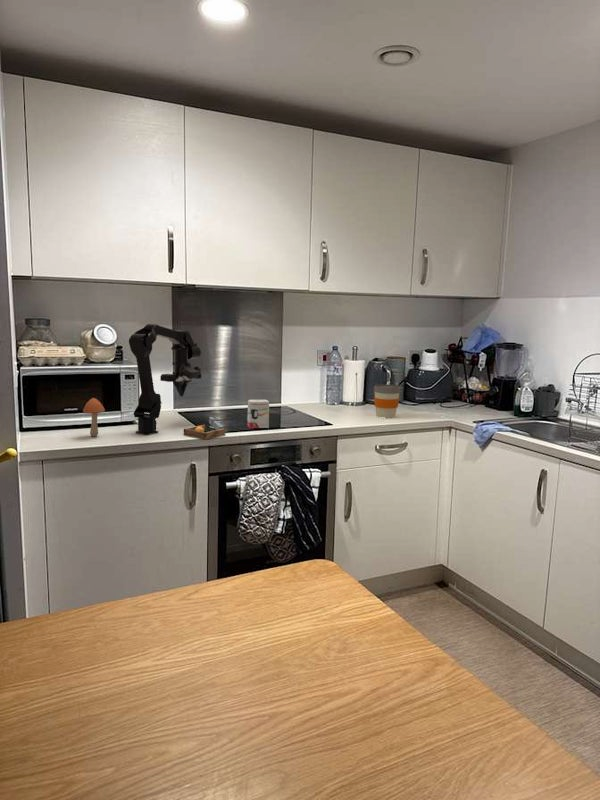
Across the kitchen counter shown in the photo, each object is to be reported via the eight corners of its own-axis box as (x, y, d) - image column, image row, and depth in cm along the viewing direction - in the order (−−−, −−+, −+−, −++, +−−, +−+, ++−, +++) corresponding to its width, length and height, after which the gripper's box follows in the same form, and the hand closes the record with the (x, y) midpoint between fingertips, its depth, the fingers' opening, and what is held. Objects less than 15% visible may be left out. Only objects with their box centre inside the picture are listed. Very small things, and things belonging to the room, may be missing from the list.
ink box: (249, 429, 240) (249, 401, 238) (247, 426, 245) (247, 399, 243) (269, 428, 243) (269, 401, 241) (266, 426, 247) (267, 399, 245)
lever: (217, 433, 229) (217, 425, 229) (207, 423, 249) (207, 416, 248) (224, 432, 230) (224, 425, 230) (214, 422, 249) (214, 415, 249)
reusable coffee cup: (367, 415, 280) (369, 384, 278) (389, 413, 286) (390, 383, 283) (381, 419, 269) (383, 388, 267) (403, 418, 274) (405, 387, 272)
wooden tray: (205, 439, 219) (205, 433, 219) (183, 435, 226) (183, 428, 226) (225, 435, 228) (225, 428, 228) (203, 430, 235) (203, 424, 234)
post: (214, 428, 239) (214, 422, 239) (207, 427, 242) (207, 421, 241) (221, 427, 243) (221, 421, 242) (214, 425, 245) (214, 420, 245)
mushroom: (98, 433, 226) (97, 395, 223) (109, 436, 221) (108, 397, 218) (79, 436, 219) (78, 397, 217) (90, 439, 214) (89, 400, 212)
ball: (202, 437, 224) (197, 430, 223) (196, 437, 227) (191, 431, 225) (207, 430, 227) (202, 424, 225) (201, 431, 229) (196, 424, 227)
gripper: (177, 362, 231) (177, 400, 234) (210, 360, 246) (210, 395, 249) (159, 360, 238) (159, 397, 240) (192, 358, 253) (192, 393, 255)
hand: (181, 396), depth 246 cm, fingers closed
